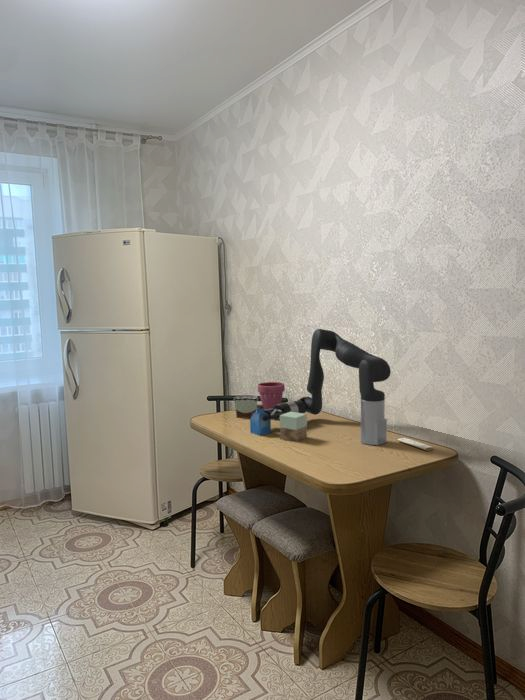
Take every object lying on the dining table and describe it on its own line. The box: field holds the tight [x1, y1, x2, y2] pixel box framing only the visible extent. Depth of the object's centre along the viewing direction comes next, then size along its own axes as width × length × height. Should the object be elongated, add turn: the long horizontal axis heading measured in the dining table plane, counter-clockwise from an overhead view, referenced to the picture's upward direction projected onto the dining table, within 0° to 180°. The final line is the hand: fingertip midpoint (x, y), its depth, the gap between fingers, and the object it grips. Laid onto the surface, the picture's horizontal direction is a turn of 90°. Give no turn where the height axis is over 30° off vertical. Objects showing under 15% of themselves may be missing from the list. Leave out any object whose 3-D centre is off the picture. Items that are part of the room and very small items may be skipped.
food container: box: [233, 394, 259, 418], centre depth 252 cm, size 12×6×10 cm, turn 84°
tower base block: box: [279, 425, 308, 443], centre depth 211 cm, size 8×8×5 cm
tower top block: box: [279, 412, 308, 430], centre depth 211 cm, size 8×8×5 cm
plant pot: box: [257, 381, 286, 409], centre depth 269 cm, size 14×14×13 cm
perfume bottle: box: [249, 404, 272, 436], centre depth 220 cm, size 6×6×12 cm
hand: (258, 417), depth 219 cm, fingers closed on perfume bottle, 6 cm apart
